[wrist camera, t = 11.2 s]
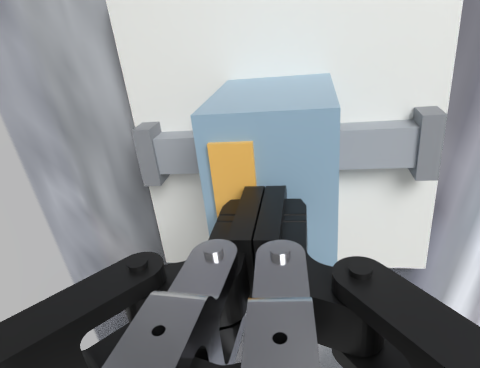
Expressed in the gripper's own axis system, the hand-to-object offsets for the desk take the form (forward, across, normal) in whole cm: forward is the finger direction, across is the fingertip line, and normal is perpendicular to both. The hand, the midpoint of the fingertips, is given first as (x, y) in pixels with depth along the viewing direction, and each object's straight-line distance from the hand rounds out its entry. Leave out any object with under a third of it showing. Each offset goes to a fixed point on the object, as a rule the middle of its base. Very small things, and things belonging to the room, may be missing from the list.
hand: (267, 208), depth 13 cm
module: (+7, 0, 0) cm, 7 cm away
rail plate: (+8, 0, 0) cm, 8 cm away
